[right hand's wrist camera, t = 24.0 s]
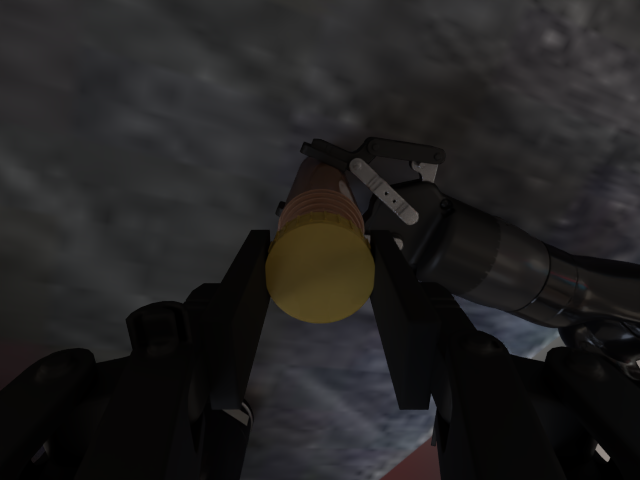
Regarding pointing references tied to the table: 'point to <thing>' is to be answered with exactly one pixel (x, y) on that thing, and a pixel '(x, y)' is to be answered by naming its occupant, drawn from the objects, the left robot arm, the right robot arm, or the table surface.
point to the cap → (320, 268)
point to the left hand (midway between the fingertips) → (290, 178)
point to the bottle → (320, 194)
